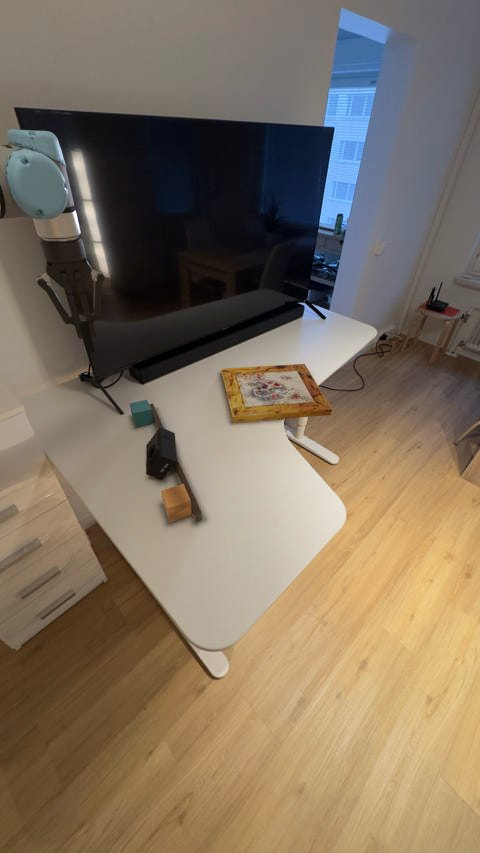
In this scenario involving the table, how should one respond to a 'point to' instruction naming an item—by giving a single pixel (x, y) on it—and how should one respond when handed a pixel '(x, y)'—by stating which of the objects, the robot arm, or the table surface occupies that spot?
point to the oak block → (176, 502)
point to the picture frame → (272, 393)
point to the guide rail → (180, 472)
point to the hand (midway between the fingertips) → (90, 349)
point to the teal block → (141, 413)
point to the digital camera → (161, 453)
